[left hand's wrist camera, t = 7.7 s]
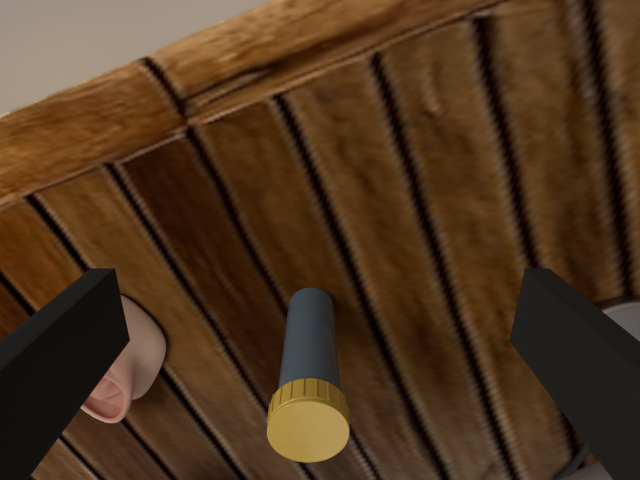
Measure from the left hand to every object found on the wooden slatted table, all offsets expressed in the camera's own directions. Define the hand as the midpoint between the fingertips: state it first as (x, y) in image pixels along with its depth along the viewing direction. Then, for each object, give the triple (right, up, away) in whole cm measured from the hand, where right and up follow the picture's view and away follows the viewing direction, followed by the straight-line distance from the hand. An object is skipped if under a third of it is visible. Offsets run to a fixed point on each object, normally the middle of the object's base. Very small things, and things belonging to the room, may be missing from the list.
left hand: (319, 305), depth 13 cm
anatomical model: (-23, -10, +31) cm, 40 cm away
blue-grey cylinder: (-1, -5, +29) cm, 30 cm away
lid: (-1, -11, +15) cm, 18 cm away
